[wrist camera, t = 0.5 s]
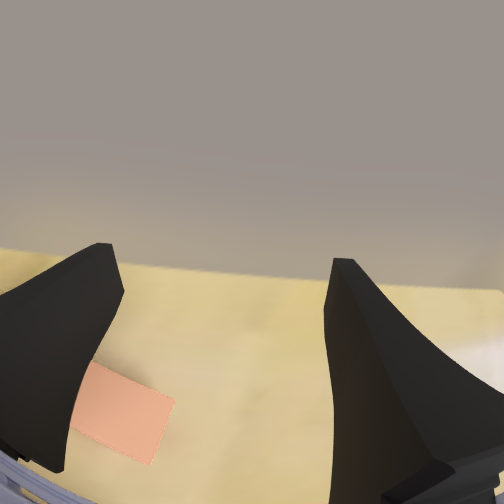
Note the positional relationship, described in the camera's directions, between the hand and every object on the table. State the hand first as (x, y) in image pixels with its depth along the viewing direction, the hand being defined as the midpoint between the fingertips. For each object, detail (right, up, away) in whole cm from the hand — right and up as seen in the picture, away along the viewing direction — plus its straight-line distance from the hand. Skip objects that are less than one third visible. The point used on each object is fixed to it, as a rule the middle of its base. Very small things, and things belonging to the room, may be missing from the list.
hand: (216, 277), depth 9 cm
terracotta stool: (-10, -13, +11) cm, 19 cm away
